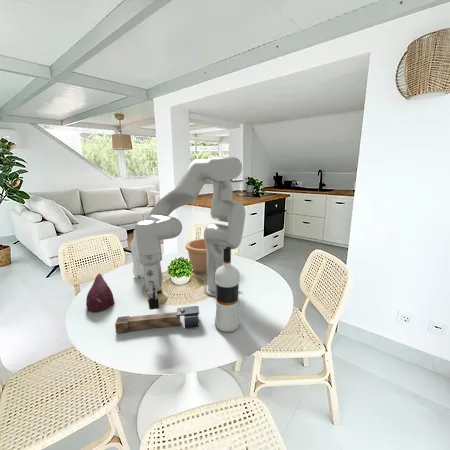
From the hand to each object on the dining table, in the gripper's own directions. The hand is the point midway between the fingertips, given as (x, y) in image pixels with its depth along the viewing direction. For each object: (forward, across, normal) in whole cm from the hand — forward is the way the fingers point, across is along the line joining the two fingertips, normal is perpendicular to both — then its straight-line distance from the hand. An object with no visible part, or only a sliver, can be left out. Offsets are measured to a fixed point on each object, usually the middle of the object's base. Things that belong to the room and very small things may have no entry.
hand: (155, 300), depth 90 cm
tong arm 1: (+9, -2, +3) cm, 10 cm away
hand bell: (+10, +18, +2) cm, 21 cm away
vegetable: (+10, +17, +25) cm, 32 cm away
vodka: (+11, -5, -25) cm, 28 cm away
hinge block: (+10, -1, -11) cm, 15 cm away
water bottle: (+11, +44, +13) cm, 47 cm away
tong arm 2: (+9, 0, +3) cm, 10 cm away
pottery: (+12, +49, -22) cm, 55 cm away
